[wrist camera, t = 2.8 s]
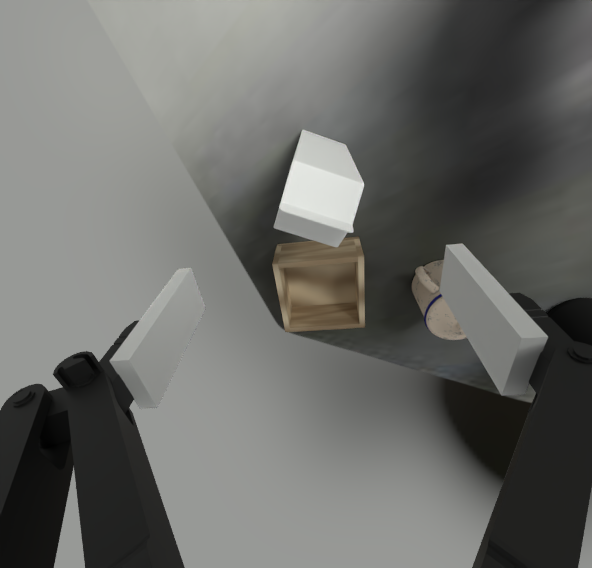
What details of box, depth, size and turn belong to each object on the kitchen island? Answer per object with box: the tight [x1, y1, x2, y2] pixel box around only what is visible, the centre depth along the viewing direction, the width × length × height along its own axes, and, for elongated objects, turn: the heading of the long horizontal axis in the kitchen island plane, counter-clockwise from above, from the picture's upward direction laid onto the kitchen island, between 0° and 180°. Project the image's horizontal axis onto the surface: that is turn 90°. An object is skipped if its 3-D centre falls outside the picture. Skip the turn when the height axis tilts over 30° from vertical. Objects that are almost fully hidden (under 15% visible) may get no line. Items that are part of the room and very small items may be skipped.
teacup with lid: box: [412, 260, 467, 340], centre depth 45 cm, size 12×9×12 cm
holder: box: [272, 237, 365, 332], centre depth 48 cm, size 13×13×6 cm
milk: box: [274, 130, 364, 247], centre depth 32 cm, size 6×6×22 cm
